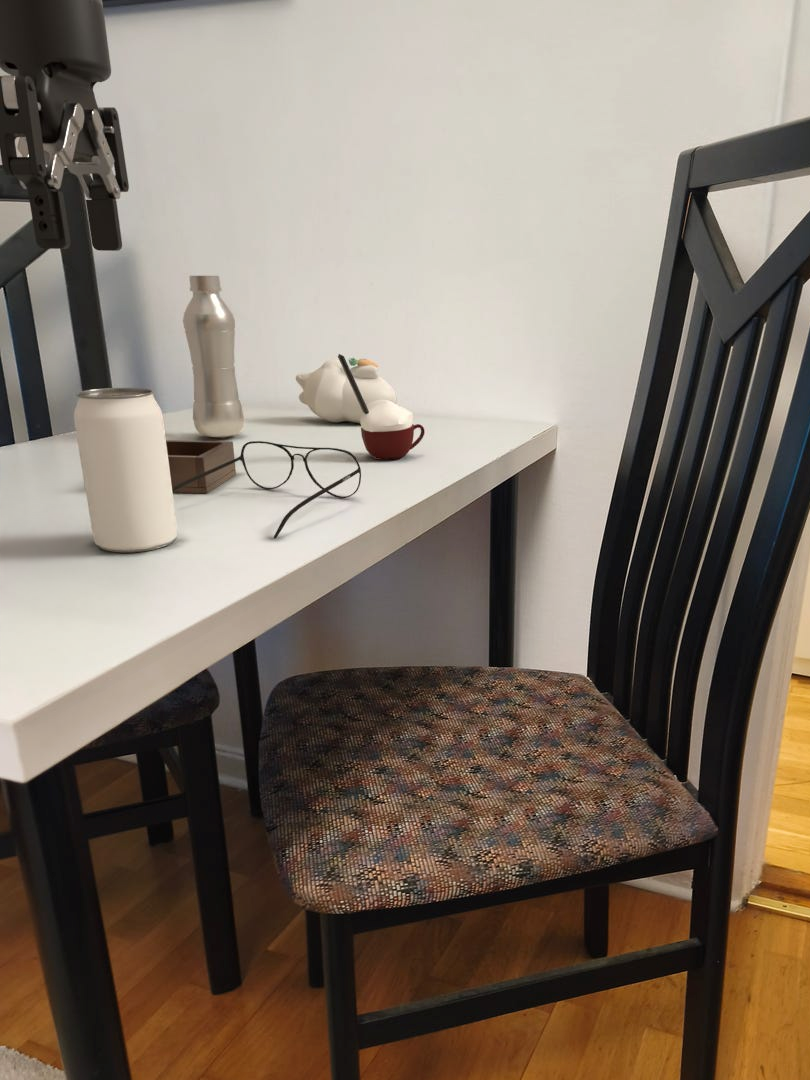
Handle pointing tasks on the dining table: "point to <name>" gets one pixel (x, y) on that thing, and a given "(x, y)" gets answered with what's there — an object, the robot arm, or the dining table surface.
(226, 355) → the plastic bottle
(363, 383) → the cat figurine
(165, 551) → the dining table surface
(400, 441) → the cocoa
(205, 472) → the glasses
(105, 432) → the can
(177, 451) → the tray
